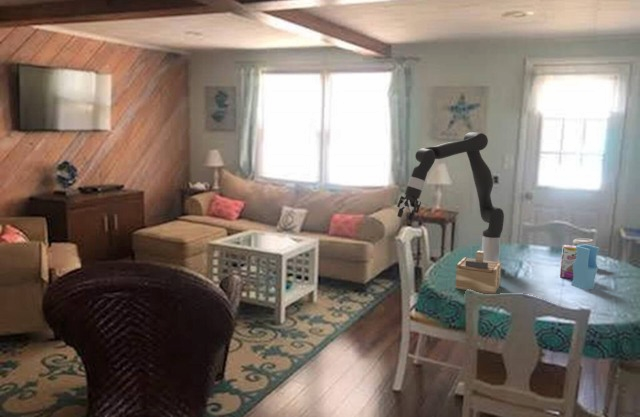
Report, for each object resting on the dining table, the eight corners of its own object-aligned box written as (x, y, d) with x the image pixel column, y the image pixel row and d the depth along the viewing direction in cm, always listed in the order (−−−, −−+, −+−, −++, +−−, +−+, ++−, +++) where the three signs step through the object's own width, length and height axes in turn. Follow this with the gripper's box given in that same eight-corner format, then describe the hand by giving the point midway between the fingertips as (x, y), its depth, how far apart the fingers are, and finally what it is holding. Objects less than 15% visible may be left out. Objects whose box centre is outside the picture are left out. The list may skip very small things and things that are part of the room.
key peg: (476, 271, 266) (477, 250, 264) (482, 272, 265) (483, 251, 263) (474, 273, 263) (476, 252, 262) (481, 274, 262) (482, 252, 260)
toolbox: (463, 279, 276) (464, 257, 274) (499, 285, 268) (501, 262, 266) (455, 288, 263) (456, 264, 261) (494, 294, 255) (495, 269, 252)
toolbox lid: (467, 260, 273) (467, 253, 273) (498, 264, 267) (498, 257, 266) (459, 267, 260) (460, 260, 260) (491, 272, 253) (492, 264, 253)
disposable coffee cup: (570, 266, 300) (573, 240, 298) (570, 262, 310) (572, 236, 307) (592, 269, 296) (595, 242, 294) (590, 264, 306) (593, 238, 303)
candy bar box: (560, 277, 281) (563, 246, 278) (559, 275, 285) (562, 244, 282) (584, 280, 277) (587, 248, 274) (583, 277, 282) (586, 246, 279)
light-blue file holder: (585, 290, 262) (589, 249, 258) (570, 285, 269) (574, 245, 265) (595, 287, 265) (599, 247, 262) (581, 283, 272) (585, 244, 269)
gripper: (429, 192, 267) (418, 223, 267) (411, 187, 279) (401, 217, 279) (418, 187, 263) (407, 219, 263) (400, 183, 275) (390, 213, 276)
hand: (404, 218), depth 271 cm, fingers open, 8 cm apart
